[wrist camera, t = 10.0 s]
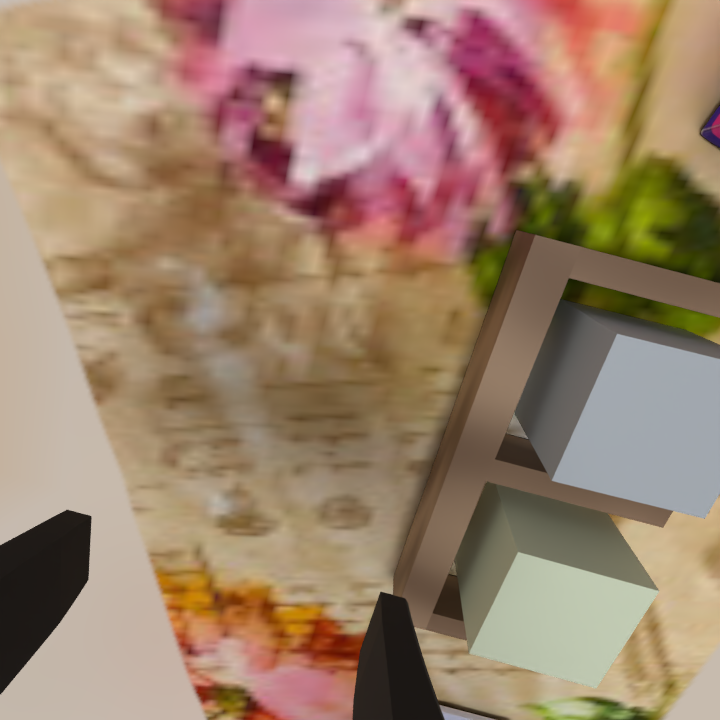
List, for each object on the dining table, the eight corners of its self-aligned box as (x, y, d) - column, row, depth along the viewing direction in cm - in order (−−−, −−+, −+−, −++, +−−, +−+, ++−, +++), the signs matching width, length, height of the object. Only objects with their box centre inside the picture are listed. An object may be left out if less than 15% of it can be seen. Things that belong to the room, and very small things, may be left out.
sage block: (554, 583, 22) (596, 688, 17) (454, 556, 22) (469, 653, 17) (599, 500, 20) (659, 591, 15) (490, 470, 20) (518, 551, 15)
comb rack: (559, 620, 22) (578, 669, 20) (393, 577, 22) (392, 621, 20) (740, 289, 17) (796, 303, 14) (516, 230, 17) (535, 234, 14)
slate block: (629, 440, 19) (704, 518, 14) (514, 412, 19) (551, 480, 14) (684, 329, 17) (790, 376, 13) (558, 298, 17) (617, 333, 13)
